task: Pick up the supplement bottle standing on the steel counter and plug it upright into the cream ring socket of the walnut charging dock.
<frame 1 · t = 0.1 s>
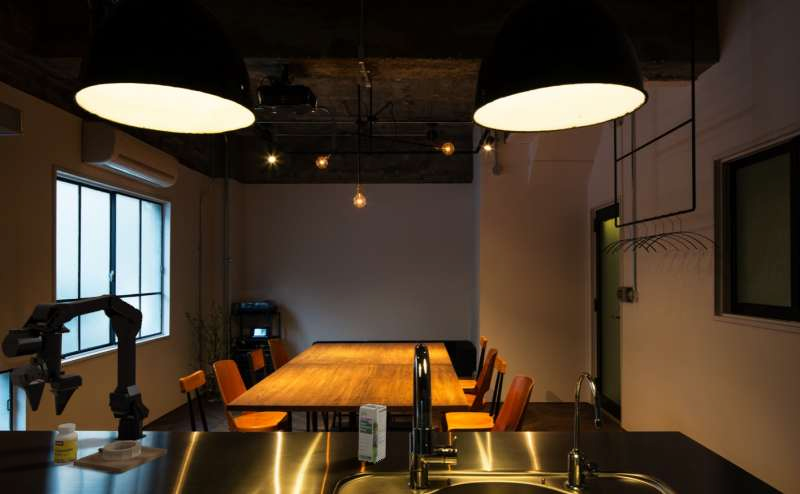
hand: (46, 413, 141), 14 cm above the counter, fingers open, 9 cm apart
dock: (121, 459, 149), on the counter
syrup box: (372, 459, 152), on the counter
supplement bottle: (65, 463, 146), on the counter
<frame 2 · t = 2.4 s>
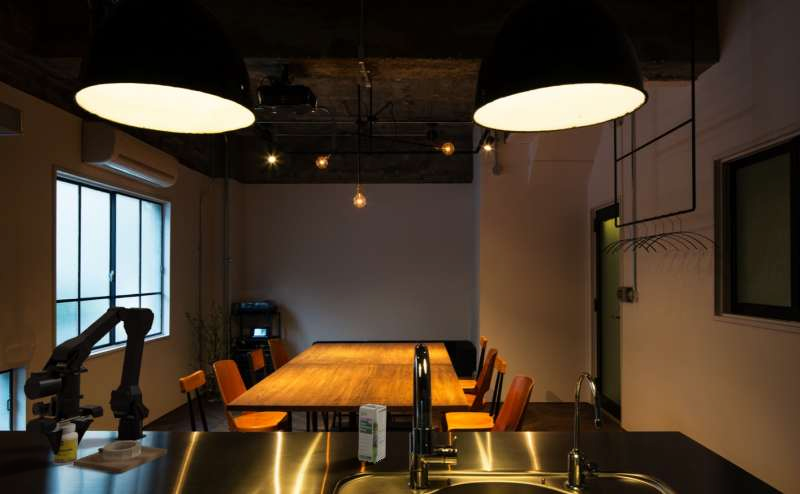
hand: (65, 450, 146), 3 cm above the counter, fingers closed on supplement bottle, 5 cm apart
supplement bottle: (65, 463, 146), on the counter, touching gripper
everything else where it was.
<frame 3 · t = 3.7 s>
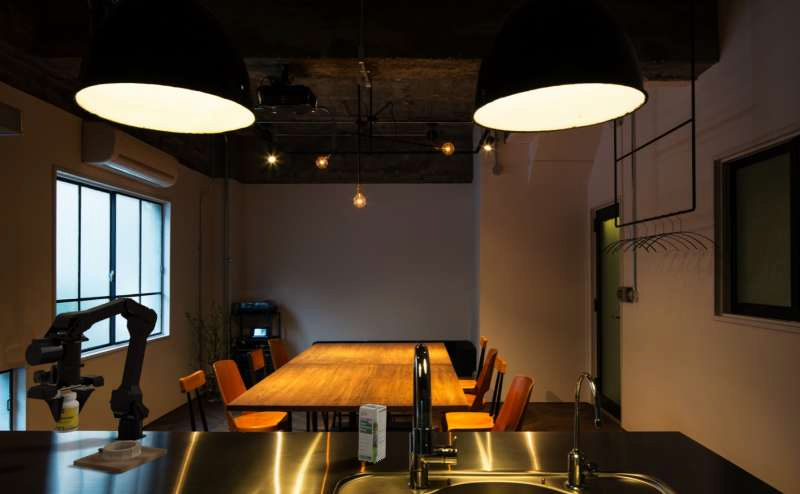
hand: (66, 418, 146), 11 cm above the counter, fingers closed on supplement bottle, 5 cm apart
supplement bottle: (66, 431, 146), point 8 cm above the counter, touching gripper
everything else where it was.
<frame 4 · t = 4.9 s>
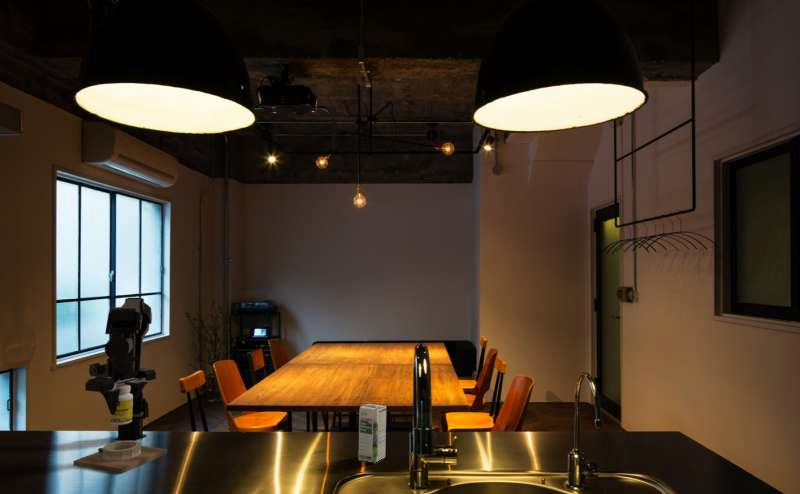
hand: (121, 411, 149), 13 cm above the counter, fingers closed on supplement bottle, 5 cm apart
supplement bottle: (121, 423, 149), point 10 cm above the counter, touching gripper
everything else where it was.
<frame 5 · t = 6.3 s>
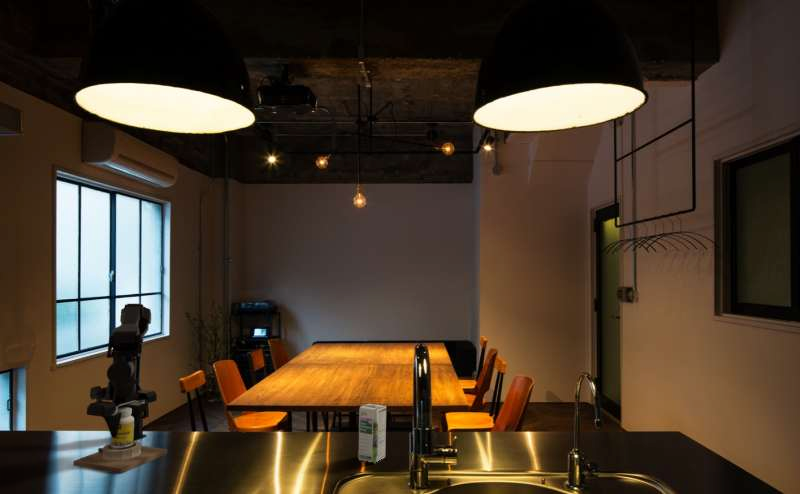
hand: (122, 434, 149), 7 cm above the counter, fingers closed on supplement bottle, 5 cm apart
supplement bottle: (122, 446, 149), point 3 cm above the counter, touching gripper
everything else where it was.
when the fingers open (5 cm above the counter, at t = 7.5 s): supplement bottle stays where it is, resting on dock.
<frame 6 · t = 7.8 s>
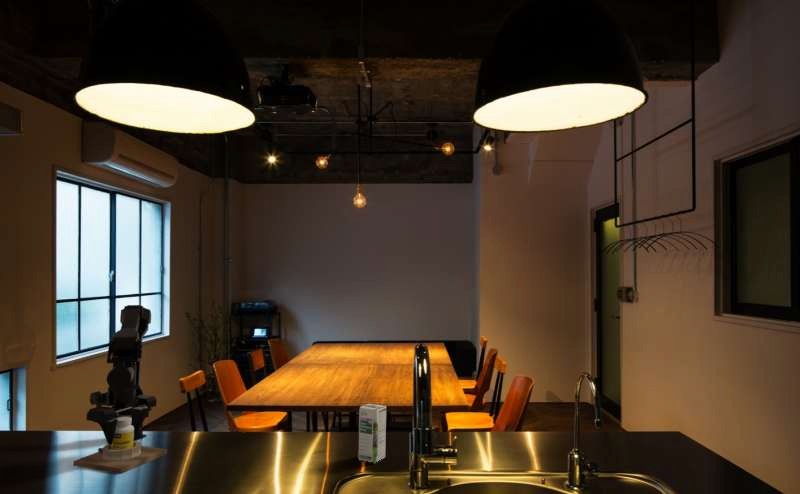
hand: (122, 439, 149), 5 cm above the counter, fingers open, 8 cm apart
supplement bottle: (122, 455, 149), point 1 cm above the counter, touching dock
everything else where it was.
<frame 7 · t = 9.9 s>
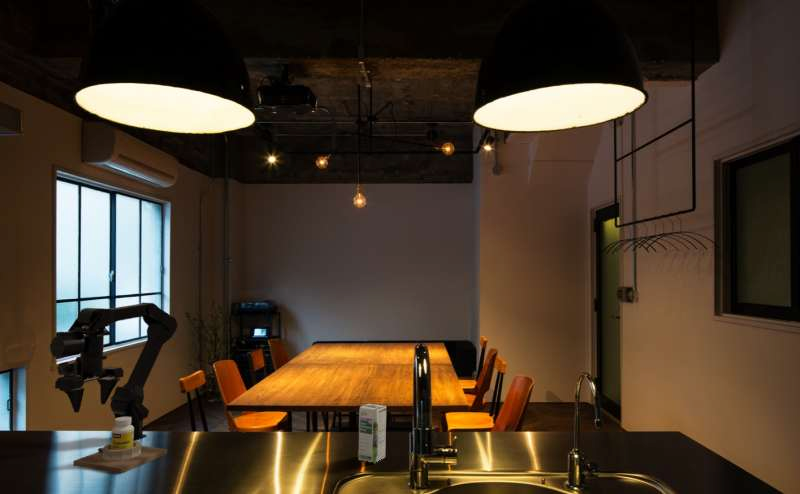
hand: (90, 408, 155), 12 cm above the counter, fingers open, 9 cm apart
nothing on the counter moved.
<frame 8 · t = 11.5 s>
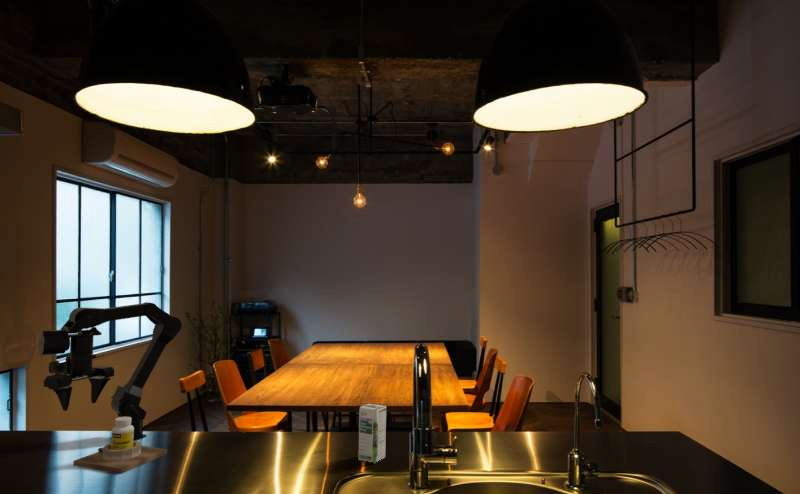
hand: (79, 406, 157), 12 cm above the counter, fingers open, 9 cm apart
nothing on the counter moved.
at the end: supplement bottle 0.1 cm off-centre on the dock, point 1.0 cm above the dock's base; supplement bottle tilted 0°; the gripper is holding nothing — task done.
